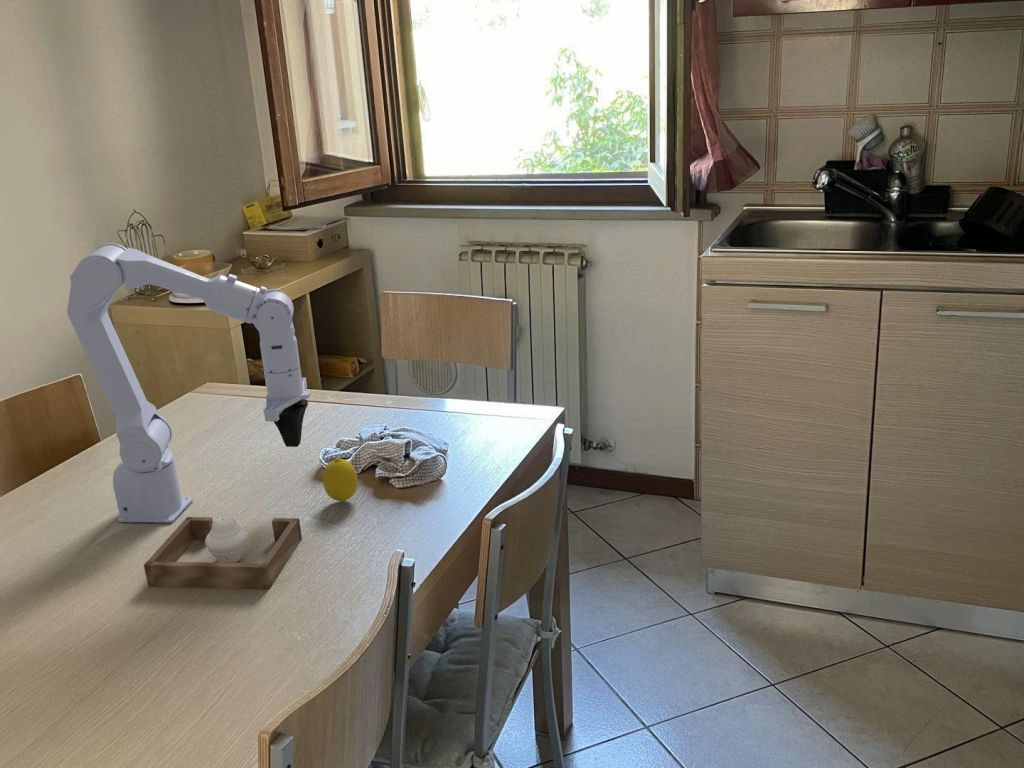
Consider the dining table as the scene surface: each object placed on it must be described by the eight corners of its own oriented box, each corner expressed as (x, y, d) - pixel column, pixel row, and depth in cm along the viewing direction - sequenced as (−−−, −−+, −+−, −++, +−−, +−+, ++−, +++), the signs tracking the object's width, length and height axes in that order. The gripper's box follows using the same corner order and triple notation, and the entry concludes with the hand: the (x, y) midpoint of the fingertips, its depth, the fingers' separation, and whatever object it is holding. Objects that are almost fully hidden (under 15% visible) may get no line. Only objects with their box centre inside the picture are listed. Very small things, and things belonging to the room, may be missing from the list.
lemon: (353, 511, 151) (347, 466, 149) (321, 509, 152) (314, 464, 150) (364, 495, 156) (359, 451, 154) (333, 493, 158) (328, 450, 155)
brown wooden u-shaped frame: (148, 586, 133) (143, 564, 132) (191, 536, 146) (187, 516, 145) (269, 589, 131) (265, 567, 129) (302, 538, 144) (299, 518, 142)
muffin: (230, 573, 135) (222, 531, 133) (199, 564, 138) (191, 522, 135) (260, 553, 140) (253, 512, 138) (230, 545, 143) (223, 504, 140)
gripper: (290, 383, 142) (302, 464, 147) (320, 352, 155) (329, 427, 160) (246, 383, 143) (259, 463, 148) (279, 353, 156) (290, 427, 161)
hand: (293, 445), depth 154 cm, fingers closed
